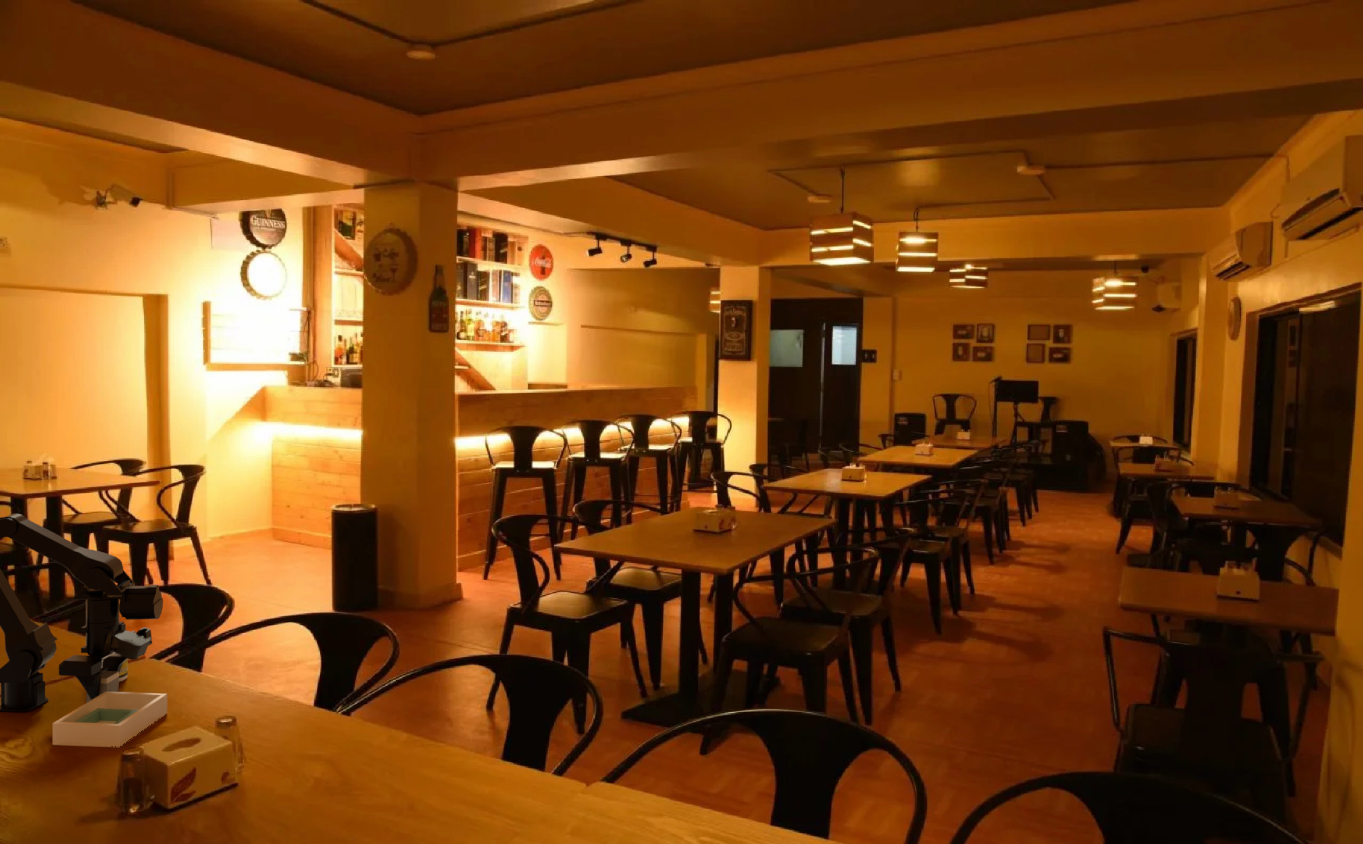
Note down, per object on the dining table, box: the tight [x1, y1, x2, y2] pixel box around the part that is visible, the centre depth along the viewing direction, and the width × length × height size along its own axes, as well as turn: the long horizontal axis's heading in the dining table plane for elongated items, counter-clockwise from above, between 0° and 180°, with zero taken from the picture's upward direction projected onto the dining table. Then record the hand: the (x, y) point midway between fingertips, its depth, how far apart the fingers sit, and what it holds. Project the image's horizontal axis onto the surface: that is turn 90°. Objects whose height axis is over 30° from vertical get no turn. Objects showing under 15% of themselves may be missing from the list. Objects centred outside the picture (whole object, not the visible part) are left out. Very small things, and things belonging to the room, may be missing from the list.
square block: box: [86, 671, 120, 703], centre depth 188 cm, size 4×4×6 cm
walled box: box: [52, 691, 168, 748], centre depth 176 cm, size 12×16×4 cm
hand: (102, 695), depth 188 cm, fingers open, 5 cm apart
